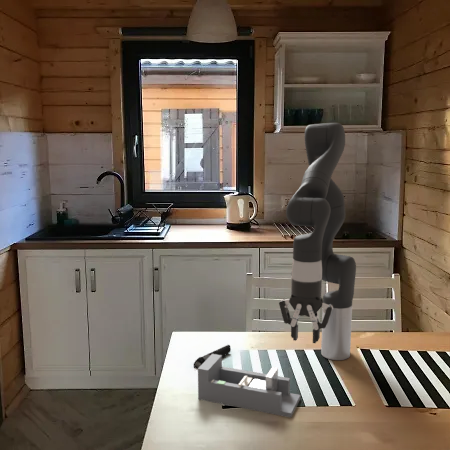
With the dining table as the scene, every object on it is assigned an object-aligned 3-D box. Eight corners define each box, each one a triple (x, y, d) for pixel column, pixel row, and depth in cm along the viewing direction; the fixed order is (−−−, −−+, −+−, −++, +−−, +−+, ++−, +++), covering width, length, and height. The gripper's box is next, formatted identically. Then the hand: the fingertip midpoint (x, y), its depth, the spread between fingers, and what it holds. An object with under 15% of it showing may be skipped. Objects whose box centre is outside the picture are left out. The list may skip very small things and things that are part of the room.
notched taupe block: (254, 389, 149) (254, 364, 147) (277, 394, 146) (277, 367, 145) (247, 400, 143) (247, 373, 142) (271, 404, 141) (271, 377, 139)
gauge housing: (212, 382, 156) (212, 353, 154) (300, 399, 146) (301, 368, 145) (198, 399, 147) (197, 368, 145) (291, 417, 137) (291, 385, 136)
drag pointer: (245, 388, 150) (246, 370, 149) (252, 389, 149) (252, 371, 148) (235, 402, 142) (235, 383, 141) (242, 403, 141) (243, 385, 140)
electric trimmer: (233, 355, 175) (233, 345, 175) (201, 370, 164) (201, 361, 163) (225, 351, 178) (225, 342, 177) (192, 367, 166) (192, 357, 166)
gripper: (338, 275, 135) (335, 339, 138) (283, 270, 140) (281, 331, 143) (332, 283, 128) (330, 350, 131) (275, 277, 133) (274, 342, 137)
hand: (305, 340), depth 137 cm, fingers open, 4 cm apart
